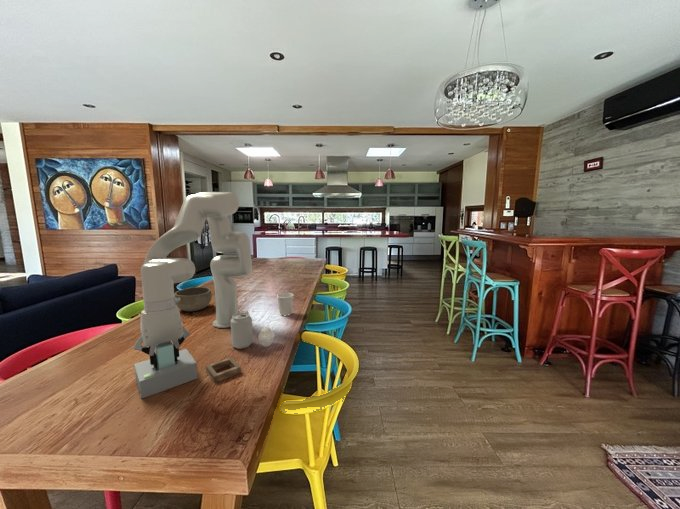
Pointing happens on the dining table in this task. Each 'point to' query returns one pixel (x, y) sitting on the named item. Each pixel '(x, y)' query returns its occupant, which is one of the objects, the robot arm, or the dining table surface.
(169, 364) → the plug
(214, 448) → the dining table surface
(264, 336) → the white rounded lump
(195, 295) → the bowl
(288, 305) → the dixie cup
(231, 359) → the square wooden frame
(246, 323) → the can
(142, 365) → the port block
